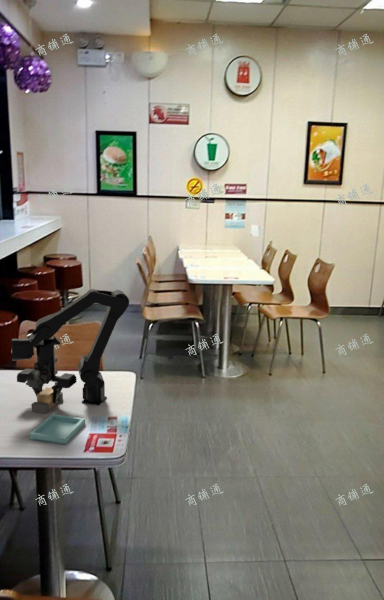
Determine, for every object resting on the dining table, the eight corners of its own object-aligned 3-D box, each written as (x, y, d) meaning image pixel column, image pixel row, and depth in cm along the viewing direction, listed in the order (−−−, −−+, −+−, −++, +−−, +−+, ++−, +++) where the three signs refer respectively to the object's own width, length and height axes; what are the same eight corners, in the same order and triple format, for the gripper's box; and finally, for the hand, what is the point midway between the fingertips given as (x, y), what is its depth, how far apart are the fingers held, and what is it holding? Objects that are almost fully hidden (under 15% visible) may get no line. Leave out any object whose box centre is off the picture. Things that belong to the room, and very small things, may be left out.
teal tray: (85, 423, 150) (85, 418, 149) (64, 444, 137) (64, 438, 137) (52, 419, 152) (52, 413, 152) (29, 439, 140) (29, 433, 139)
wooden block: (57, 402, 164) (57, 388, 163) (48, 410, 158) (47, 395, 157) (46, 401, 165) (46, 387, 164) (37, 408, 159) (36, 394, 158)
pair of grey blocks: (62, 399, 166) (62, 392, 166) (45, 413, 156) (45, 406, 155) (49, 397, 167) (49, 390, 167) (31, 411, 157) (31, 404, 156)
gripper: (5, 362, 152) (8, 409, 156) (59, 369, 148) (61, 416, 152) (25, 351, 163) (27, 395, 166) (76, 357, 159) (77, 402, 162)
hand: (47, 402), depth 161 cm, fingers open, 5 cm apart
